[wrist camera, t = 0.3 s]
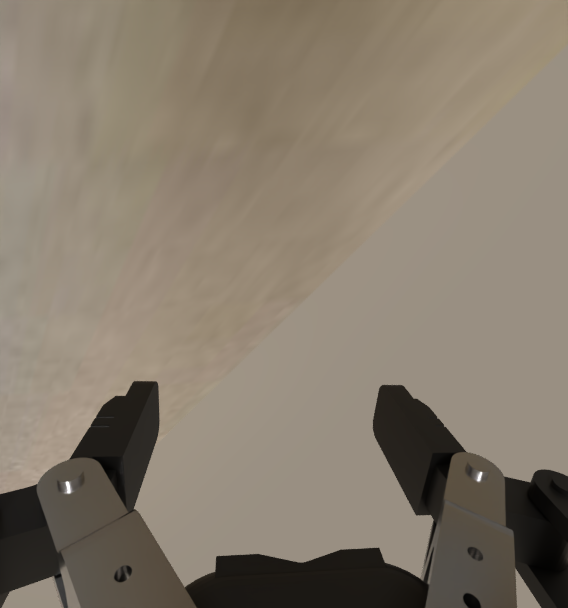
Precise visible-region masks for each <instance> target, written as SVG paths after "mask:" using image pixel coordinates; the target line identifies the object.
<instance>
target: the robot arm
mask: <svg viewBox="0 0 568 608" xmlns="http://www.w3.org/2000/svg"><path fill="white" fill-rule="evenodd" d="M158 431H159V392H158V383H157V382H154V381H134V382H133V383H132V385H131V387H130V389H129V391H128V392H127V394H126V396H115V397H114V398H112V399H111V400H110V401H108V402H107V403H106V404H104V405H103V406H102V408H101V410H100V411H99V413H98V414H97V416H96V418H95V419H94V421H93V422H92V424H91V427H90V428H89V429H88V430H87V432H86V434H85V435H84V437H83V438H82V440H81V442H80V443H79V445H78V446H77V448H76V450H75V451H74V453H73V454H72V456H71V458H70V459H69V460H67V461H64V462H62V463H60V464H57V465H56V466H54V467H52V468H51V469H50V470H48V471H47V472H46V473H45V474H44V475H43V476H42V477H41V479H40V480H39V482H38V484H36V485H34V486H31V487H27V488H23V489H19V490H15V491H11V492H7V493H3V494H0V608H1V607H2V605H3V603H4V602H5V599H6V597H7V596H8V594H9V592H10V591H12V590H15V589H18V588H21V587H24V586H26V585H29V584H32V583H35V582H38V581H41V580H43V579H46V578H49V577H52V578H53V581H54V585H55V588H56V591H57V594H58V598H59V601H60V604H61V607H62V608H517V600H516V577H515V568H516V569H517V571H518V573H519V574H520V576H521V577H522V579H523V580H524V582H525V583H526V585H527V586H528V588H529V589H530V591H531V592H532V594H533V595H534V597H535V598H536V600H537V602H538V603H539V604H540V606H541V608H568V476H565V475H563V474H561V473H558V472H555V471H551V470H538V471H536V472H535V473H534V475H533V478H532V480H531V483H530V482H525V481H521V480H517V479H512V478H508V477H504V476H503V474H502V472H501V471H500V470H499V468H498V467H497V466H496V465H494V464H493V463H492V462H490V461H489V460H487V459H485V458H483V457H481V456H479V455H476V454H473V453H468V452H466V451H465V450H464V449H463V447H462V446H461V445H460V444H459V442H458V441H457V440H456V439H455V438H454V437H453V435H452V434H451V433H450V432H449V430H448V429H447V428H446V427H444V424H443V423H442V422H441V421H440V420H439V419H437V416H436V415H435V414H434V412H433V411H432V410H431V409H430V408H429V407H428V406H427V405H425V404H424V403H422V402H421V401H419V400H418V399H413V397H412V396H411V395H410V394H409V392H408V391H407V390H406V389H405V387H404V386H402V385H382V386H381V387H380V389H379V393H378V398H377V403H376V408H375V413H374V419H373V431H374V435H375V438H376V440H377V442H378V444H379V445H380V447H381V449H382V451H383V453H384V455H385V457H386V459H387V461H388V463H389V465H390V467H391V468H392V470H393V472H394V474H395V476H396V478H397V480H398V482H399V484H400V485H401V487H402V489H403V491H404V493H405V495H406V497H407V499H408V501H409V503H410V504H411V506H412V508H413V510H414V512H415V514H416V515H431V516H432V518H433V519H434V521H433V524H432V528H431V532H430V537H429V541H428V546H427V551H426V555H425V560H424V565H423V570H422V574H421V579H420V578H418V577H416V576H415V575H413V574H411V573H410V572H408V571H406V570H403V569H401V568H399V567H396V566H393V565H391V564H387V563H385V562H384V560H383V557H382V554H381V552H380V549H379V548H366V549H348V550H347V549H346V550H339V551H336V552H333V553H330V554H328V555H325V556H322V557H319V558H316V559H313V560H311V561H307V562H304V563H298V562H293V561H289V560H284V559H279V558H275V557H269V556H265V555H260V554H250V555H231V556H217V557H216V570H215V572H213V573H210V574H207V575H205V576H203V577H201V578H199V579H197V580H195V581H194V582H192V583H191V584H189V585H187V586H186V587H184V586H183V584H182V582H181V581H180V579H179V578H178V576H177V574H176V573H175V571H174V569H173V568H172V566H171V564H170V563H169V561H168V560H167V558H166V556H165V554H164V553H163V551H162V550H161V548H160V546H159V545H158V543H157V541H156V540H155V538H154V536H153V535H152V533H151V532H150V530H149V528H148V527H147V525H146V523H145V522H144V520H143V518H142V517H141V515H140V514H139V513H138V511H137V510H135V509H134V506H135V503H136V500H137V497H138V494H139V491H140V488H141V485H142V482H143V479H144V476H145V473H146V470H147V467H148V464H149V461H150V458H151V455H152V452H153V449H154V446H155V443H156V440H157V437H158Z"/></svg>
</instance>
